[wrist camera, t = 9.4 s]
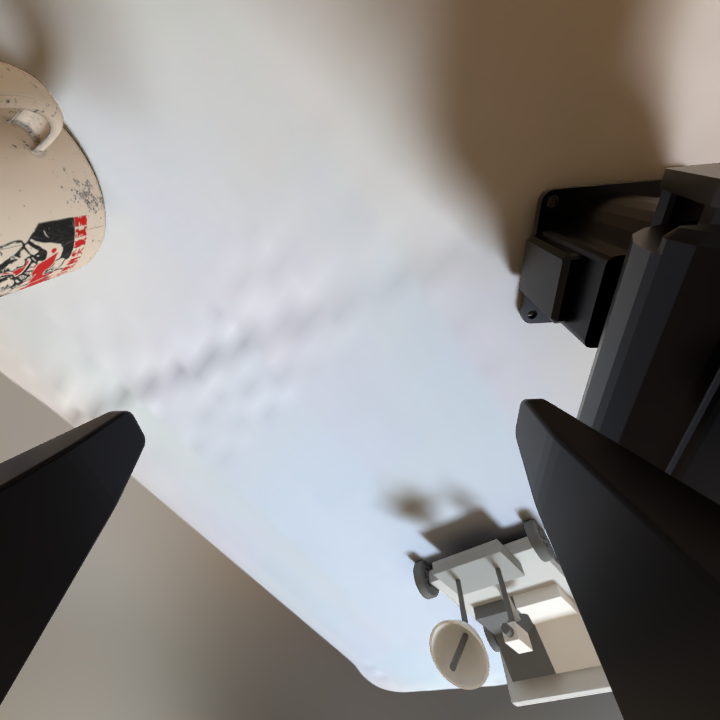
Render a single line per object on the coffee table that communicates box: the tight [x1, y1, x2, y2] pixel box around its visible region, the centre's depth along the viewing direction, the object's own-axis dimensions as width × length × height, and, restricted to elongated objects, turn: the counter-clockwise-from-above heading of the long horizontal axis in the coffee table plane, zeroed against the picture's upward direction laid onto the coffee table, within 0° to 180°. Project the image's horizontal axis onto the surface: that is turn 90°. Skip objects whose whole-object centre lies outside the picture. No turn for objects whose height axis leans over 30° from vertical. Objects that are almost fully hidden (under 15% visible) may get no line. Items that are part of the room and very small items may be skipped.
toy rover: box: [413, 519, 612, 706], centre depth 28 cm, size 18×10×12 cm
